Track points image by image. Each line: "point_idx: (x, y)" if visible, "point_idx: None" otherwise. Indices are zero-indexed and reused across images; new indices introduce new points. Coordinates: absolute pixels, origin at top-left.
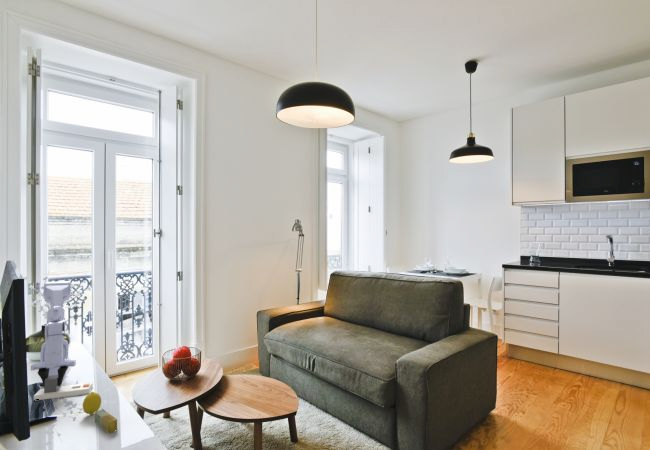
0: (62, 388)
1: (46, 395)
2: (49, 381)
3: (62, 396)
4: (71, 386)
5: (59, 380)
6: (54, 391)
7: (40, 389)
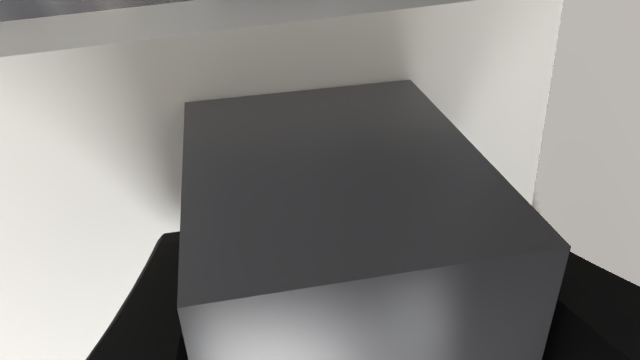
0: (148, 252)
1: (336, 6)
2: (398, 225)
3: (40, 25)
4: (15, 318)
5: (142, 316)
6: (221, 104)
7: None
